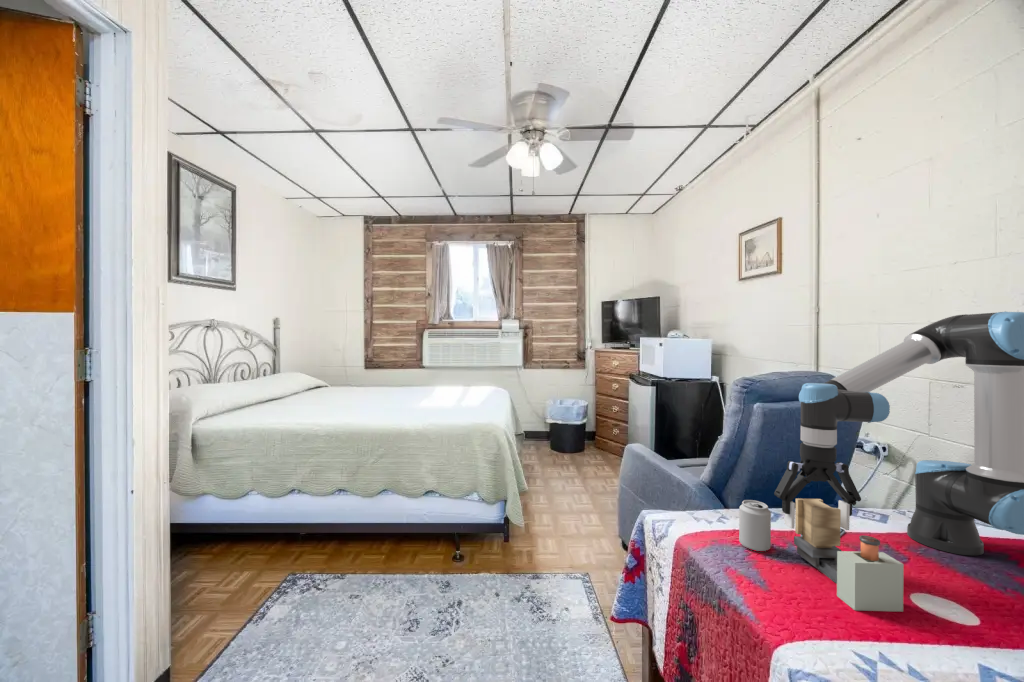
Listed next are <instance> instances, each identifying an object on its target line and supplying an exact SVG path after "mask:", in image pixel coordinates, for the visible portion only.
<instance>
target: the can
mask: <svg viewBox="0 0 1024 682" xmlns="http://www.w3.org/2000/svg"><path fill="white" fill-rule="evenodd" d="M738 513H739V514H738V515H739V516H738V517H739V520H738V521H739V523H738V526H739V527H738V528H739V530H738V533H739V534H738V535H739V537H738V542H739V543H740V544H741V546H742V547H744V546H745V547H747V548H749V549H752V550H756V551H765V552H767V551H768V550H770V549H771V541H772V540H771V539H772V538H771V536H772V535H771V534H772V532H771V531H772V529H771V527H772V526H771V524H772V522H771V521H772V520H771V518H772V511H771V510H770V509H769V506H768V505H767V504H766V503H764V502H762V501H759V500H755V499H754V500H753V499H744V500H743V501H742V502H741V505H740V506H739V512H738ZM745 547H744V548H745ZM747 548H746V549H747ZM749 549H748V550H749ZM752 550H751V551H752ZM766 550H767V551H766Z"/></svg>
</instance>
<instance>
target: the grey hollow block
mask: <svg viewBox="0 0 1024 682" xmlns="http://www.w3.org/2000/svg"><path fill="white" fill-rule="evenodd" d="M904 567H905V565H904V563H903V562H901V561H899V560H897V559H895V558H894V557H893V556H890V555H889V554H887V553H885V552H884V551H879V560H878V561H871V560H867V559H865V558H863V557H861V555H860V551H852V550H851V551H849V550H848V551H845V550H844V551H843V550H841V551H837V584H836V597H837V598H839V599H840V600H841V601H842V602H844V604H846V605H847V606H849V607H850V608H851V609H852V610H854V611H861V612H862V611H865V612H866V611H867V612H872V611H873V612H897V613H898V612H899V613H900V612H902V613H903V612H904V572H905V571H904V570H905V569H904Z"/></svg>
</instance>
